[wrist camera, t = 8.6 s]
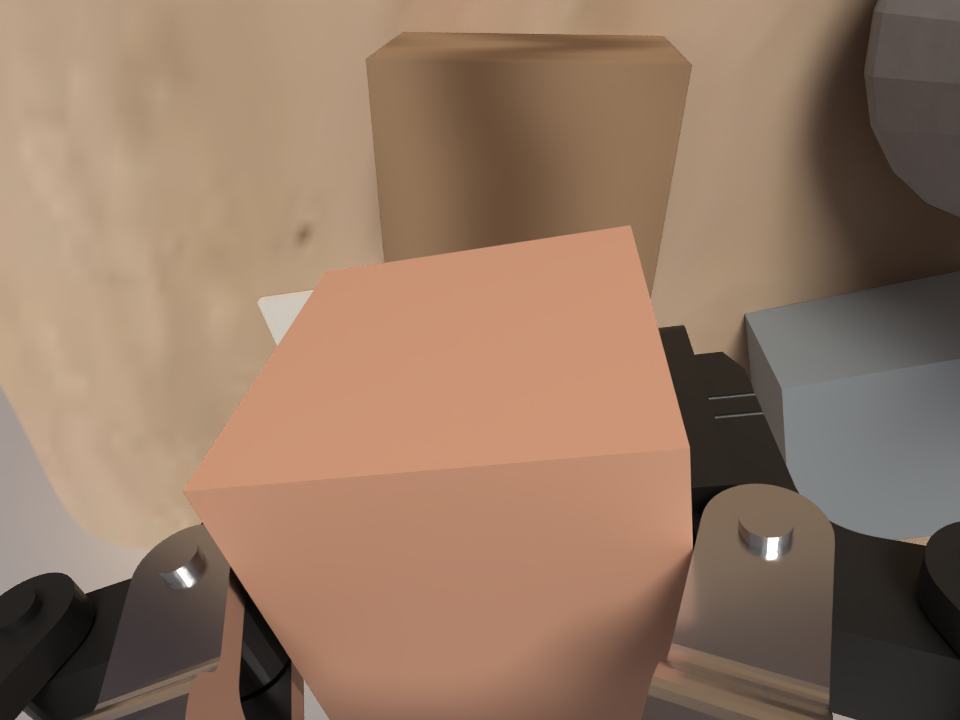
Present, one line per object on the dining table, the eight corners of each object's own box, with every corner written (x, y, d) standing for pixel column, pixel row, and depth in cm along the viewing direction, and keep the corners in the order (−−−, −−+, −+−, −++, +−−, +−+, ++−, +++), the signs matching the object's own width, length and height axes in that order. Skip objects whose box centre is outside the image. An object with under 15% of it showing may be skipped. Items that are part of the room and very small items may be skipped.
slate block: (981, 263, 22) (1077, 338, 18) (959, 431, 26) (1033, 524, 22) (743, 311, 24) (781, 389, 20) (757, 461, 28) (791, 551, 24)
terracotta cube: (630, 225, 10) (689, 448, 6) (649, 464, 12) (698, 733, 8) (325, 271, 11) (182, 491, 6) (405, 484, 13) (339, 734, 9)
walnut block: (662, 35, 19) (692, 64, 15) (627, 271, 24) (642, 343, 20) (404, 31, 20) (365, 59, 16) (418, 262, 24) (391, 330, 20)
